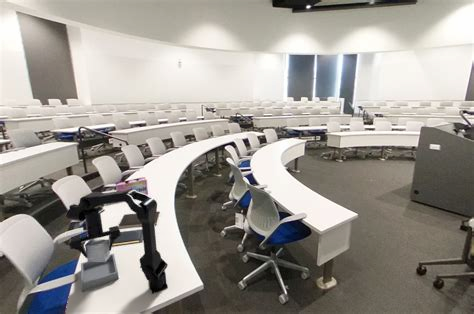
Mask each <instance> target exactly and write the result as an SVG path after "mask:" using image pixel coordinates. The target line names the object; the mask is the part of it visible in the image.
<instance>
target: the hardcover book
mask: <svg viewBox="0 0 474 314" xmlns="http://www.w3.org/2000/svg"><path fill="white" fill-rule="evenodd" d="M159 217H160V211H157V212H156V215H155V218H154V224H155V225H157V224H158V221H159ZM118 227H119V229H122V228H133V227H142V223H141V222H140V221H139V219H138V218H137V215H136V213H127V214H124V215H123V216H122V219H121V220H120V222H119V223H118Z"/></svg>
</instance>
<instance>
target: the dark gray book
mask: <svg viewBox="0 0 474 314" xmlns="http://www.w3.org/2000/svg"><path fill="white" fill-rule="evenodd" d="M120 234H121V236H119V237H117V239H115V241H114V243H113V245H112V248H114V247H121V246H126V245H133V244H134V245H135V244H141V243H144V242H143V233H142V228H141V229H133V230H125V231H120ZM107 240H108V244H109V238H107Z"/></svg>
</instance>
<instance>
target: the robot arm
mask: <svg viewBox="0 0 474 314" xmlns="http://www.w3.org/2000/svg"><path fill="white" fill-rule="evenodd" d="M135 200H136V201H140V203H137V202H136V201H135ZM120 202H121V203H122V202H125V203H126V204H127V206H128V207H129V209H130V211H132V212H134V214H136V215H137V218H138V219H139V221H140V222H141V223H142V226H141V229H142V233H143V242H142V243H143V248H144V249H143V251H144V253H143V255H142V256H141V257H140V258H139V264H140V266H139V268H140V269H141V272H142V273H143V274H144V276H145V278H146V281H148V282H147V284H148V287H149V291H151V294H156V293H158V292H160V291H163V290H165V289H168V288H169V286H168V284H167V277H166V276H167V275H166V274H167V273H166V269H167V268H168V263H167V262H166V261H165V260H164V259H163V258H162V256H161V252H159V251H158V250H157V248H158V247H157V238H156V229H155V228H156V227H155V226H156V224H155V225H154V218H155V215H156V212H158V211H157V209H158V202H157V200H155V198H153V197H150V196H149V194H148V195H146V194H143V193H140V192H137V191H136V190H134V189H128V190H123V191H116V190H115V191H111V192H102V191H91V192H90V193H87V194H85V195H84V196H82V197H80V199H79V202H78V204H75V203H74V204H70V205H69V206H68V207H69V208H68V210H67V212H66V219H67V220H68V221H73V222H83V223H82V230H83V232H85V231H86V233H87V235H86V236H82V235H81V234H77V235H74V236H73V235H72V236H71V237H70V238H69V249H70V250H73V249H74V250H75V251H76V250H77V251H79V253H81V254H82V255H83V257H85V258H86V259H87V254H86V248H85V245H84V242H89V241H90V240H93V239H100V238H105V237H107V236H108V239H109V250H110V252H111V250H112V248H113V247H112V245H113V243H114V241H115V239H117V237H119V236H121V234H120V232H121V228H119V225H115V226H111V227H108V230H107V231H106V230H105V231H104V230H103V223H102V217H101V216H102V215H101V214H102V213H103V212H105V208H104V207H103V208H102V207H101V206H102V205H109V204H114V203H120ZM84 221H85V222H84Z"/></svg>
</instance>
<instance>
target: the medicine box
mask: <svg viewBox="0 0 474 314" xmlns="http://www.w3.org/2000/svg"><path fill="white" fill-rule="evenodd" d="M86 242H87V243H85V245H84V248H85V251H86V254H87V258H86V260H87V261H88V262H106V261H107V260H108V258H109V257H110V255H111V251H110V250H109V244H108V239H100V238H97V239H93V240H89V241H86Z"/></svg>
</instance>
